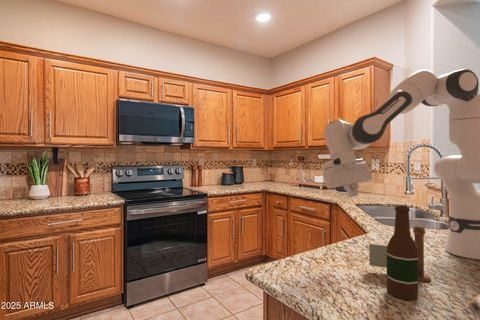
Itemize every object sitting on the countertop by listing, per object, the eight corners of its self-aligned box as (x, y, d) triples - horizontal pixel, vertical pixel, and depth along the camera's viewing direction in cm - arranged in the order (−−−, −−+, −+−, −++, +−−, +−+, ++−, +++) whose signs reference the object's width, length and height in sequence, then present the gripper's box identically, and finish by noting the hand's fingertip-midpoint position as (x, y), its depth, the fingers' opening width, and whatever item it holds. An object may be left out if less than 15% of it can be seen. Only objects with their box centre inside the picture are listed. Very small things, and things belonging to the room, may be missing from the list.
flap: (411, 269, 86) (411, 247, 86) (412, 271, 85) (412, 248, 85) (369, 264, 90) (369, 243, 90) (369, 265, 89) (369, 244, 89)
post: (420, 273, 88) (420, 223, 88) (435, 281, 82) (435, 227, 82) (403, 274, 87) (403, 223, 87) (418, 282, 81) (417, 228, 81)
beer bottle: (424, 303, 69) (424, 209, 69) (391, 300, 71) (391, 207, 71) (412, 289, 77) (411, 204, 77) (382, 286, 78) (382, 203, 78)
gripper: (358, 160, 112) (368, 193, 108) (317, 166, 104) (327, 201, 101) (370, 155, 106) (381, 190, 103) (327, 162, 99) (337, 199, 96)
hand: (354, 196), depth 102 cm, fingers closed
